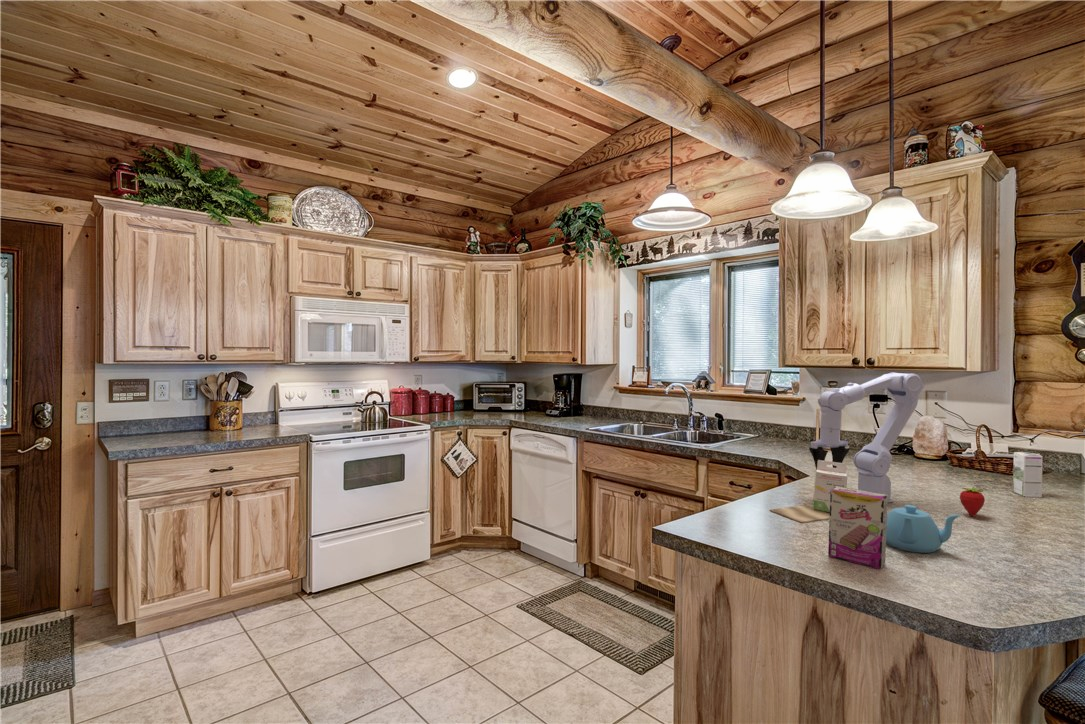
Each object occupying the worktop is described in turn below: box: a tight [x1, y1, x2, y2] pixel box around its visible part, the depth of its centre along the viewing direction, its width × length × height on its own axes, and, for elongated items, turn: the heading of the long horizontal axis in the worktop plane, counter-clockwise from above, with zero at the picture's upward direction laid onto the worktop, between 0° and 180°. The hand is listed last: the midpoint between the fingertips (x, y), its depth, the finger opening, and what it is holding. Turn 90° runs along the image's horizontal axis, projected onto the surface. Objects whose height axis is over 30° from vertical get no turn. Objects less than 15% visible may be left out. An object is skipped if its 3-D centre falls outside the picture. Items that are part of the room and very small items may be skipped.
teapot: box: [886, 504, 961, 554], centre depth 135 cm, size 15×15×10 cm
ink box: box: [813, 460, 848, 513], centre depth 164 cm, size 9×5×15 cm, turn 62°
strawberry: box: [959, 487, 986, 517], centre depth 160 cm, size 6×8×10 cm
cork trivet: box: [769, 504, 830, 524], centre depth 160 cm, size 14×12×1 cm
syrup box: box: [1012, 451, 1044, 498], centre depth 185 cm, size 6×6×14 cm
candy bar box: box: [827, 486, 889, 570], centre depth 125 cm, size 11×5×16 cm, turn 48°
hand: (827, 469), depth 174 cm, fingers open, 7 cm apart
